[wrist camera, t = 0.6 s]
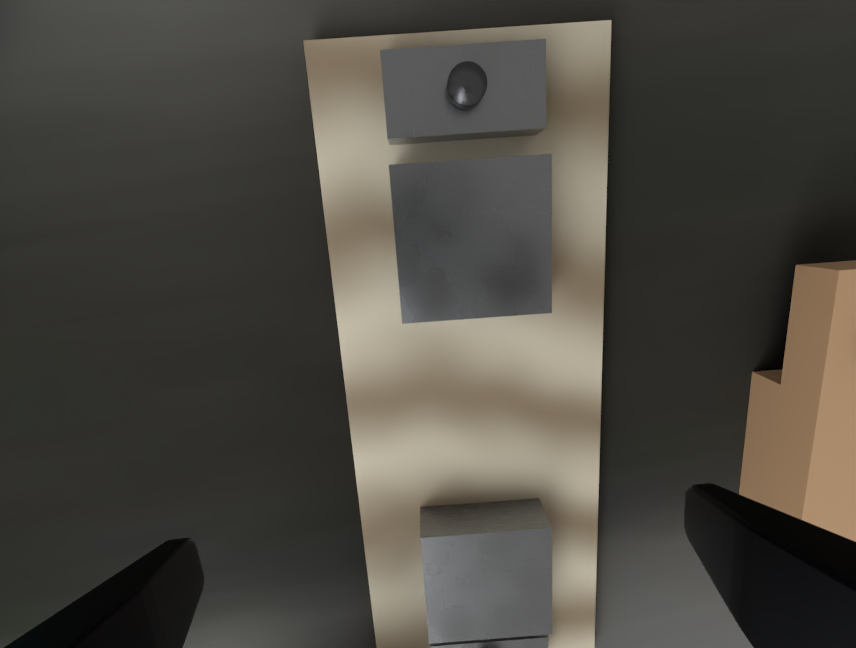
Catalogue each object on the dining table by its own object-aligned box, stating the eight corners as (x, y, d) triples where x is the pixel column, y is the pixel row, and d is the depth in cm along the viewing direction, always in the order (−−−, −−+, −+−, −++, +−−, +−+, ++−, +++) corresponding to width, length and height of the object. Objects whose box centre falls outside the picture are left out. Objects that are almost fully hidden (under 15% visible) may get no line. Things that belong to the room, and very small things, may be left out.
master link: (799, 573, 25) (882, 651, 20) (728, 579, 25) (796, 658, 20) (848, 254, 21) (967, 264, 16) (763, 260, 21) (859, 272, 16)
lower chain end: (540, 655, 24) (553, 699, 22) (432, 663, 24) (434, 708, 22) (539, 498, 22) (553, 529, 20) (419, 506, 22) (420, 539, 20)
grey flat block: (537, 302, 20) (552, 313, 17) (403, 312, 20) (402, 324, 17) (535, 53, 17) (552, 29, 15) (383, 63, 17) (378, 41, 15)
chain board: (587, 648, 26) (593, 665, 25) (382, 664, 26) (380, 681, 25) (601, 30, 18) (611, 19, 17) (309, 50, 18) (303, 40, 17)
